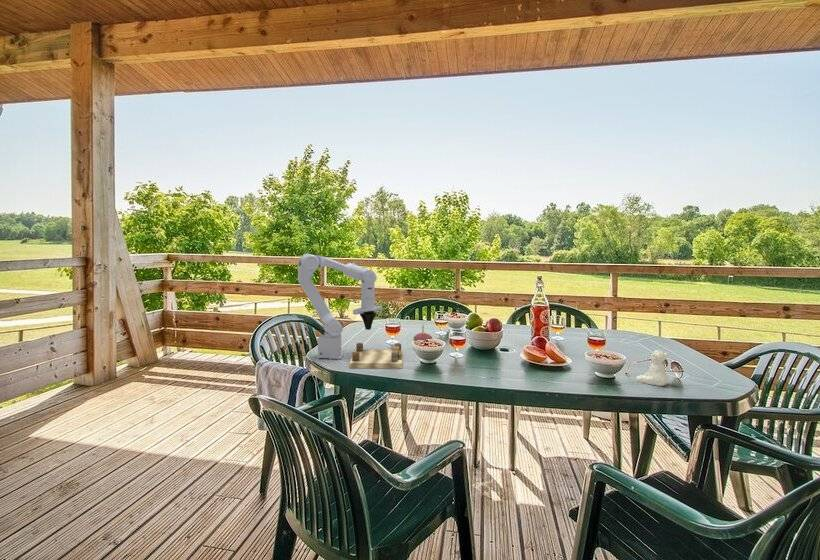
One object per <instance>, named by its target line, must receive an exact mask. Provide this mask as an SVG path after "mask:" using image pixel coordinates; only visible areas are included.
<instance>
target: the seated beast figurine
mask: <svg viewBox="0 0 820 560" xmlns="http://www.w3.org/2000/svg"><path fill="white" fill-rule="evenodd" d="M653 351H654V352H653V353H652V354H651V356H650V358H649V359H650V360H651V364H650V365H649V367H648V368H649V370H648V373H647V374H644V375H643V374H640V375H637V376H636V378H635V379H636V382H637V383H641V384H647V385H651V386H656V387H664V386H666V385H668V383H669V376H668V373H667V371H666V366H665V364H664V362H665V360H666V358H667V357H668V356H669V352H664V351H663V350H661V349H655V350H653Z"/></svg>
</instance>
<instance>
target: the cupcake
mask: <svg viewBox="0 0 820 560" xmlns="http://www.w3.org/2000/svg"><path fill="white" fill-rule="evenodd" d="M424 327H425V326H424V324H422V325H421V328H422V329H421V332H419V333H417V334H415V335H414V336H413V339H412V340H413V341H414V342H415V341H417V340H426V339H432V340H433V336H432V335H431V334H428V333H425V332H424V329H425V328H424Z"/></svg>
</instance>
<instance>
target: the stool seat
mask: <svg viewBox="0 0 820 560" xmlns="http://www.w3.org/2000/svg"><path fill="white" fill-rule="evenodd" d="M355 345H356V347H355V348H356V349H355V350H354V351H353V352H351V358H350V361H349V365H348V366H349V367H348V368H349V369H397V370H398V369H400V368H402V369H403V357H404V356H403V353H404V352H403V349H402V343H399V342H398V343H396V342H395V343H394V346H399V356H398V360H397V361H392V360H391V353H392V349H364V343H363V342H356V344H355Z"/></svg>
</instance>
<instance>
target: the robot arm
mask: <svg viewBox="0 0 820 560" xmlns="http://www.w3.org/2000/svg"><path fill="white" fill-rule="evenodd" d="M326 267H327V268H331V269H334V270H335V271H336V270H337V271H340V272H342V273H343V275H344V276H345V277H347V278H351V279H353V280H357V281H360V285H361V286H360V297H361V298H360V302H361V303H360V307H359V308H355V309H352V314H353V315H355V316H356V315H359V316H360V317H361V319H362V321H363V324H364V328H365V330H368V331H369V330H371V329H372V325H373V322H374V319H375V318H376V316H377V313H376V312H379V311H380V312H382V311H383V305H375V303H376V302H375V301H376V299H375V298H376V297H375V294H376V293H375V292H376V291H375V289H376V288H375V283H376V281H377V280H378V279H377V274H376V273H375V271H373V269H368V268H367V266H360V265H357V264H356V263H355V262H352V263H351V262H348V263H346V264H344V263H342V262H339V261H336V260H333V259H332V258H329V257H326V256H320V255H315V254H311V253H304V254H302V255H301V257H300V258H299V260H298V262H297V281H298V284H299V285H300V287H301V289H302V290H303V291H304V293H305V295H306V297H307V298H308V299H309V301H310V303H311V305H312V307H313V308H314V310H315V311H316V313H317V315H318V316H319V318H320V321H321V323H322V328H323V330H324V333H323V334H322V335H319V336H318V339H317V359H319V358H329V359H328V360H336V359H337V360H340V359H342V357H343V356H344V352H342V332H343V324H342V323H341V322H340V321H338V320H336V318H335V316H334V315H333V313H332V312H331V310H330V309H329V307H328V306H327V304H326V302H325V301H324V299H323V297H322V295H321V294H320V291H319V290H318V289H317V287H316V285H315V284H314V282H313V280H312V278H313V277H314V273H315V272H316V270H317V269H318V268H321V269H322V268H326Z"/></svg>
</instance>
